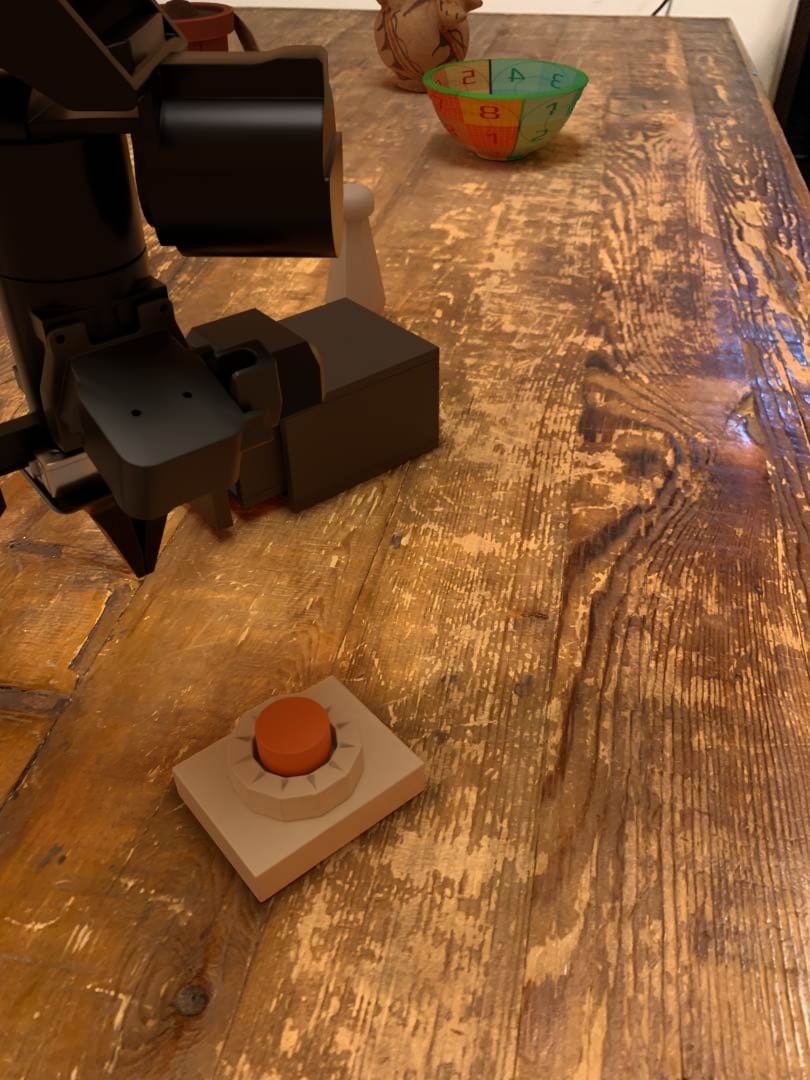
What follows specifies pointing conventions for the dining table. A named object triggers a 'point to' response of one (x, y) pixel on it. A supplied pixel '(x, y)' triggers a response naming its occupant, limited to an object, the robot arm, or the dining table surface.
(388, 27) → the ceramic vessel
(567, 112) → the bowl
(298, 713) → the button
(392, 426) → the drawer cabinet
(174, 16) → the potted plant
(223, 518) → the dark brown drawer
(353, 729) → the control block
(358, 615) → the dining table surface
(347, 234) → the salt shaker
